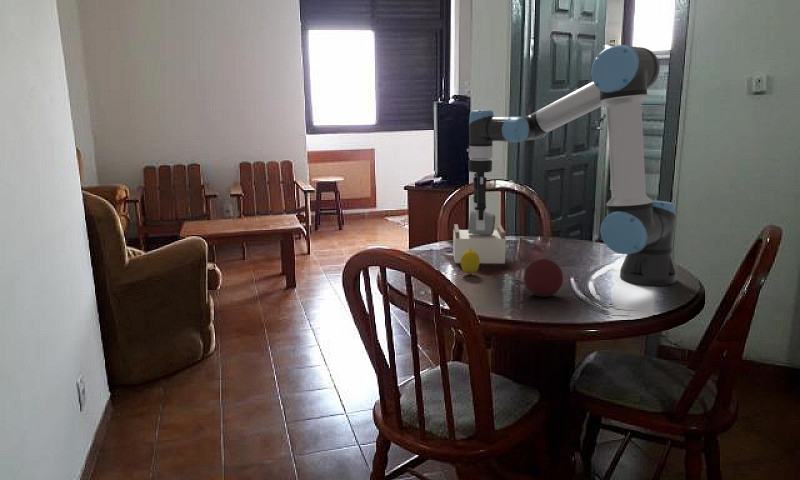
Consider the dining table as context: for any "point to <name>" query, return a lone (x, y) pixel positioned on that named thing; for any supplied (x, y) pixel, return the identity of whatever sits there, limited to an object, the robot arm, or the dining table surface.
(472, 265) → the lemon
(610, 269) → the dining table surface
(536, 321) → the dining table surface
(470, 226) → the ceramic mug
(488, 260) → the display stand
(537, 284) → the decorative ball
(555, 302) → the dining table surface
